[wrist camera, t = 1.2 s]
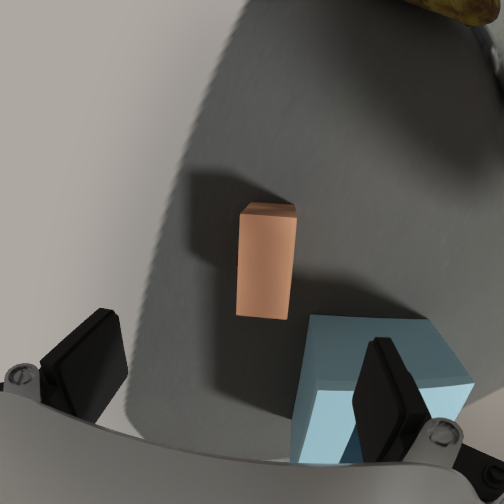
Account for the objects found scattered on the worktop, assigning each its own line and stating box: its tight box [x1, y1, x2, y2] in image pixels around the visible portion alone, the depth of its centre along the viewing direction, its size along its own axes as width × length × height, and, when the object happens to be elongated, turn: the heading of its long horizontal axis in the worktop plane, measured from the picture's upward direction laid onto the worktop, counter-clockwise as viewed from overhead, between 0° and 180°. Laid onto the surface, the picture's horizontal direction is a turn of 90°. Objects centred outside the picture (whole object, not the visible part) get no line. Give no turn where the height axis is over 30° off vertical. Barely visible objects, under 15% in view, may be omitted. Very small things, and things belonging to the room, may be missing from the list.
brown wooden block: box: [236, 202, 297, 320], centre depth 23 cm, size 4×7×6 cm, turn 177°
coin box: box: [290, 314, 475, 464], centre depth 23 cm, size 12×14×10 cm
